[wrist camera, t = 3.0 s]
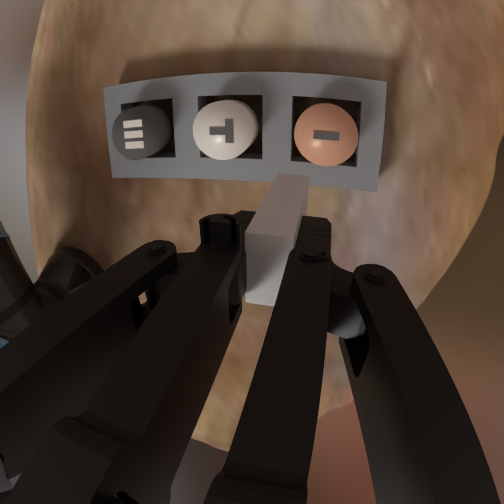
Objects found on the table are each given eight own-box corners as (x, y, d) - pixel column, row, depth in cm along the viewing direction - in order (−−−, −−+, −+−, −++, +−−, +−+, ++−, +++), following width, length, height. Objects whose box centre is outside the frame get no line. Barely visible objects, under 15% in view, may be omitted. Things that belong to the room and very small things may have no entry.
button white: (205, 152, 34) (193, 159, 31) (203, 100, 31) (191, 102, 28) (258, 153, 33) (251, 161, 30) (258, 99, 30) (251, 100, 27)
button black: (130, 153, 36) (114, 161, 33) (126, 107, 33) (109, 110, 30) (173, 152, 35) (159, 160, 32) (170, 102, 32) (155, 105, 29)
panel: (124, 171, 40) (112, 178, 38) (116, 85, 34) (103, 87, 32) (372, 184, 34) (376, 192, 32) (381, 82, 28) (386, 81, 26)
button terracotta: (295, 156, 32) (293, 163, 29) (297, 100, 29) (294, 102, 26) (352, 161, 31) (355, 169, 28) (356, 105, 28) (360, 107, 25)
